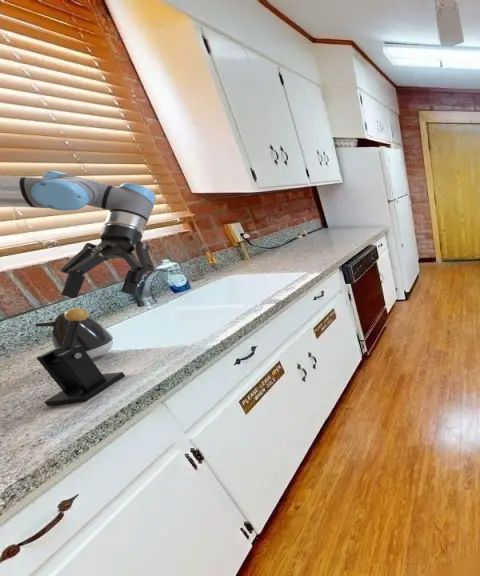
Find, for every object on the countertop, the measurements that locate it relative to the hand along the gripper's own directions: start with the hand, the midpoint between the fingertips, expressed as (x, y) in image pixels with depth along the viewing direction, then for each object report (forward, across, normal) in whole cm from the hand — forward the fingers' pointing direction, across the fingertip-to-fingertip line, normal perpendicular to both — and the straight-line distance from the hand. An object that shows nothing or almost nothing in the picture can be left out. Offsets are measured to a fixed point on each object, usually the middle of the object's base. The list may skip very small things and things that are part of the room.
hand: (98, 294), depth 82 cm
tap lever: (+12, 0, +1) cm, 12 cm away
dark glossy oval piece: (+13, +15, -18) cm, 27 cm away
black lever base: (+26, 0, -6) cm, 26 cm away
